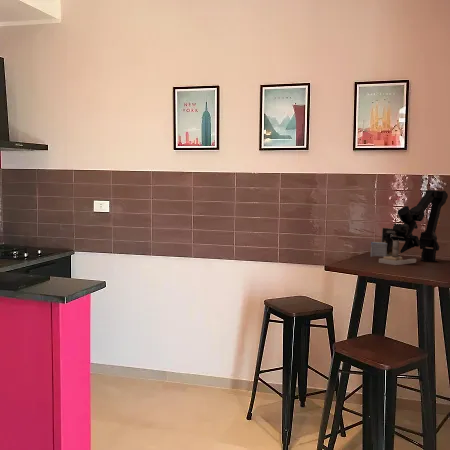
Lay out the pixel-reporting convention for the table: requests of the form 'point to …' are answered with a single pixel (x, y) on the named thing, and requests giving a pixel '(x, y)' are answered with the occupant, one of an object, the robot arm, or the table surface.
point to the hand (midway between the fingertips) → (393, 251)
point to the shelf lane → (397, 261)
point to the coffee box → (388, 230)
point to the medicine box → (378, 249)
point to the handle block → (394, 252)
